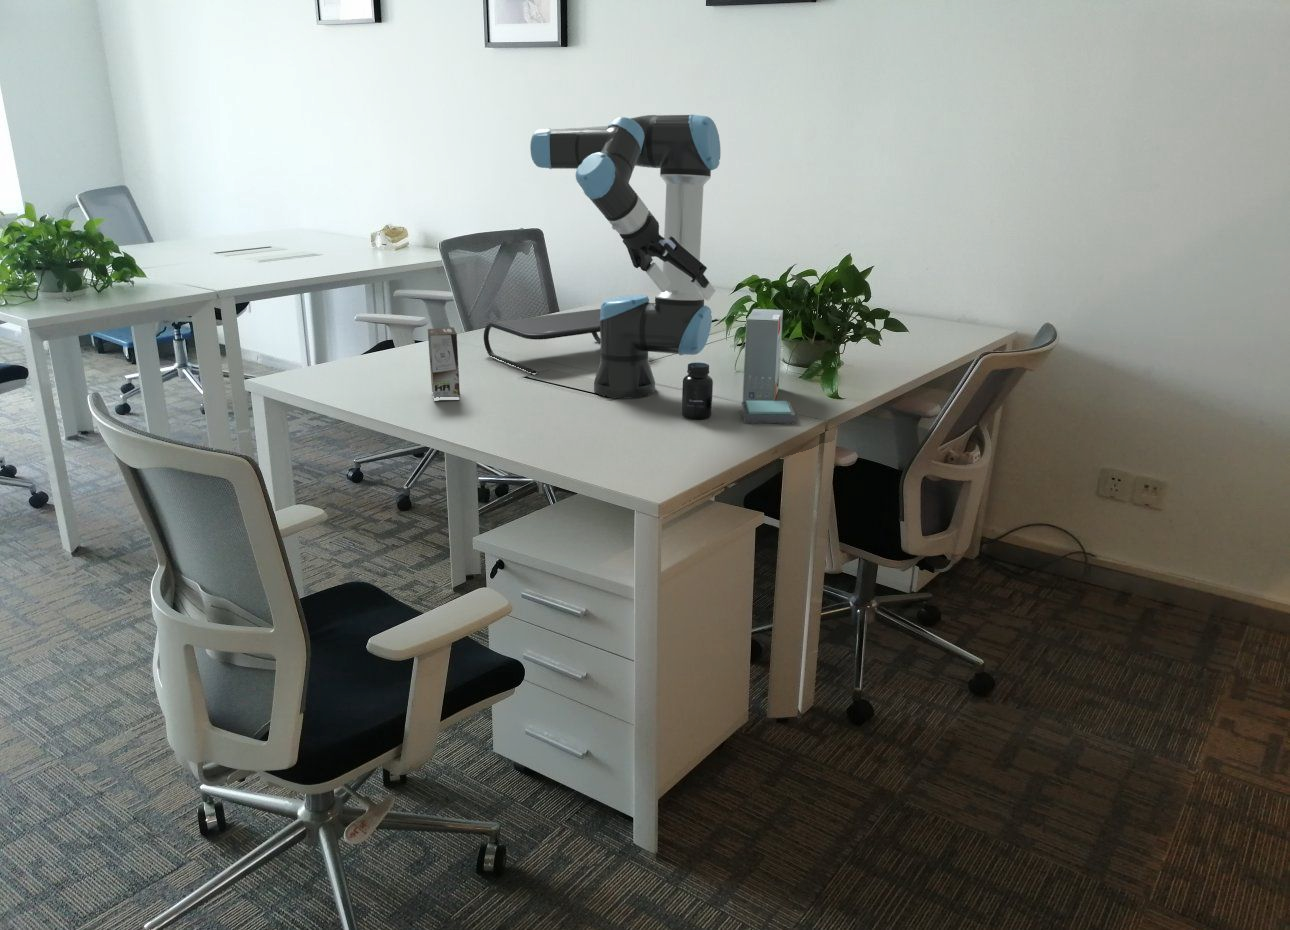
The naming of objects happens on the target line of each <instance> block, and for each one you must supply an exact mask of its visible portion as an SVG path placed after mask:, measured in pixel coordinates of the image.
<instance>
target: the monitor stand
mask: <svg viewBox="0 0 1290 930" xmlns="http://www.w3.org/2000/svg"><path fill="white" fill-rule="evenodd" d="M600 312H601V308H597V309H589V310H579V311H573V312H566V313H565V312H564V313H557V314H547V315H539V316H533V317H524V318H516V319H514V318H513V319H509V320H500V321H493V322H492V321H491V322H489V323H487V325H486V326H485V328H484V330H483V343H484V348H485V351H486V353H487V354H488V357H490V356H492V357H495V358H497V359H499V360H502V361H504V362H506V363H509V364H511V365H514V366H516V367H519V368H521V369H524V370H526V371H528V372H531V373H536V372H537V373H538V371H537V370H536V369H533V368H531V367H528V366H525V365H522V364H520V363H517V362H514V361H512V360H510V359H508V358H505V357H502V356H500V355H497V354H495V353H494V351H493V349H492V347H491V344H490V340H489V338H490V337H489V336H490V331H491V329H492V328H494V329H497V330H499V331H503V332H505V333H509V334H511V335H514V336H517V337H519V338H523V339H527V340H539V341H540V340H550V339H557V338H563V337H572V336H579V335H587V334H592V337H593V339H594V340H595V342H597V343H598V342H599V343H598V344H600V343H601V341H600V336H599V335H598V333H600Z"/></svg>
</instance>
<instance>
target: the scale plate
mask: <svg viewBox="0 0 1290 930" xmlns="http://www.w3.org/2000/svg"><path fill="white" fill-rule="evenodd" d="M745 402H746V405H747V408H748V411H749V414H791V411H790V408H789V406H788V404H787V402H788V401H787V400H774V401H745Z"/></svg>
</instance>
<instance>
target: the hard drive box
mask: <svg viewBox="0 0 1290 930" xmlns="http://www.w3.org/2000/svg"><path fill="white" fill-rule="evenodd" d="M783 313H784V310H783V309H768V308H767V309H766V308H763V309H762V308H753V309H752V310H751V312H750V314H749V315H748V317H747V318H746V323H745V324H746V325H745V340H744V341H745V342H744V343H745V344H744V345H745V346H744V363H743V364H744V365H743V381H742V382H743V384H742V402H746V401H776V397H777V394H778V392H779V387H780V374H781V353H782V351H781V350H782V335H783V315H784V314H783Z"/></svg>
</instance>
